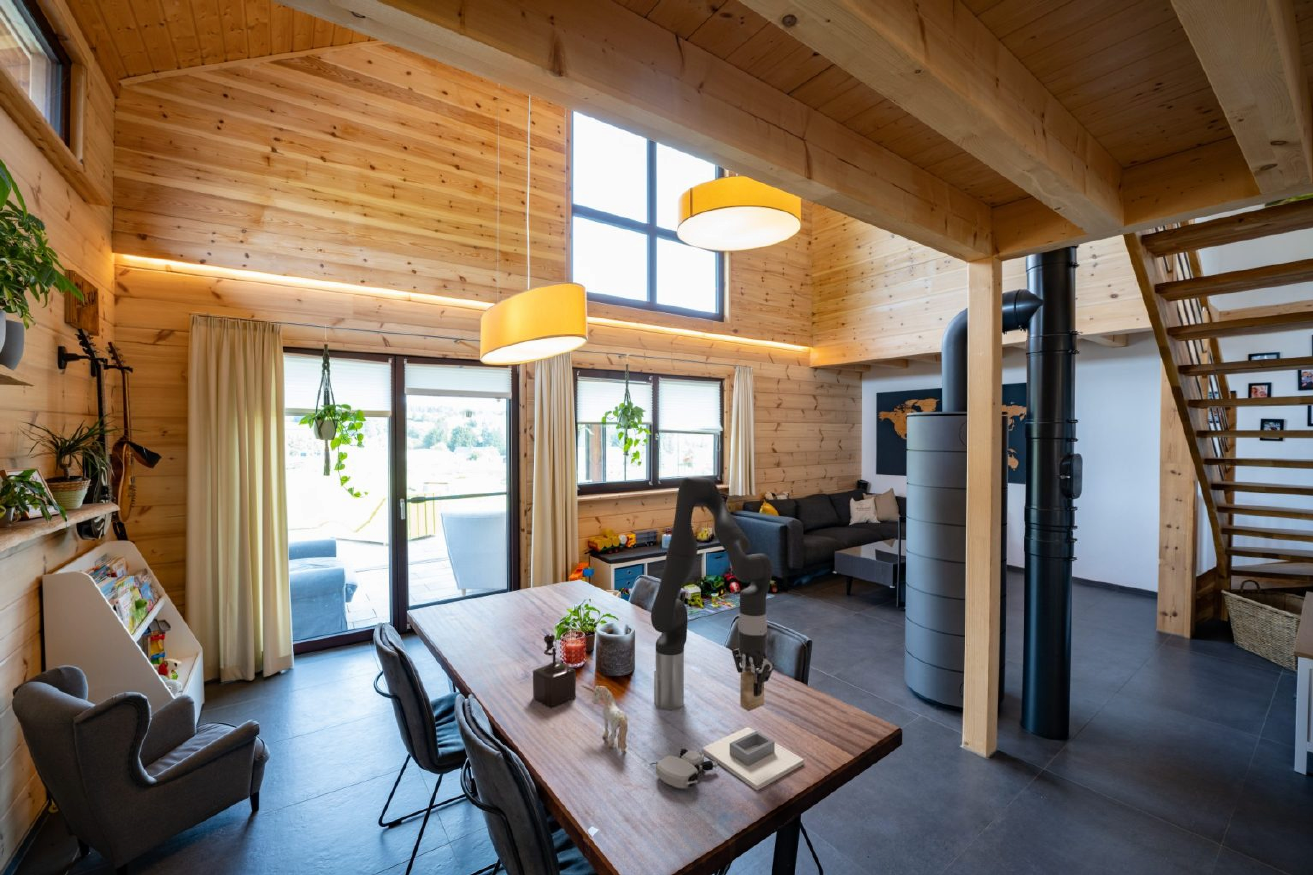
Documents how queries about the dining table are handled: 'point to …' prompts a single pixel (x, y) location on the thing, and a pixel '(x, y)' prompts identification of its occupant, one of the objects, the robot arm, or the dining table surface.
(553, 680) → the dark block with post
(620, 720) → the unicorn figurine
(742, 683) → the tall wooden peg block
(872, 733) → the dining table surface
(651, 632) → the dining table surface
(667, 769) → the robot toy
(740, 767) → the socket base
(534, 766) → the dining table surface
